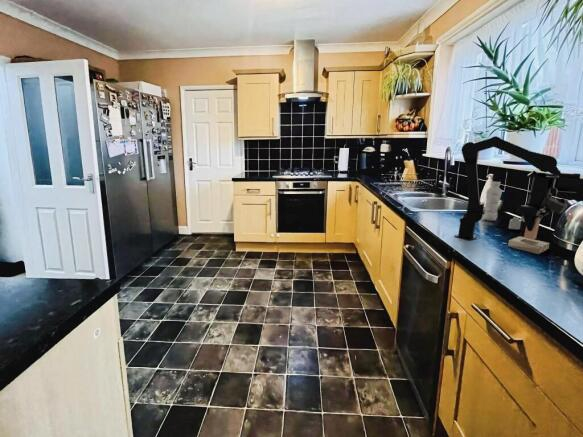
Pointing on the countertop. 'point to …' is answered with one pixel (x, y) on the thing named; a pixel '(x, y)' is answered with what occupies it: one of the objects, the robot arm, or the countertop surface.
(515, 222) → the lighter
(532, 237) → the peg
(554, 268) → the countertop surface
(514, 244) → the socket block
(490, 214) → the plastic bottle
